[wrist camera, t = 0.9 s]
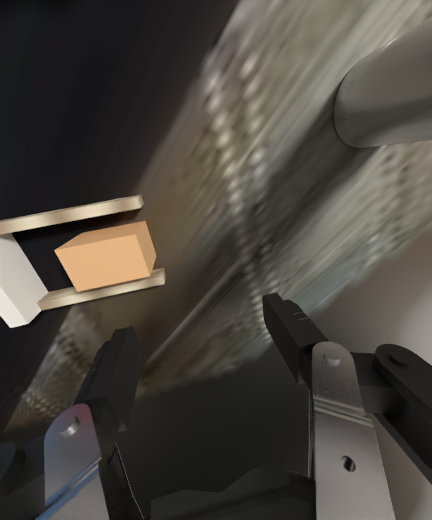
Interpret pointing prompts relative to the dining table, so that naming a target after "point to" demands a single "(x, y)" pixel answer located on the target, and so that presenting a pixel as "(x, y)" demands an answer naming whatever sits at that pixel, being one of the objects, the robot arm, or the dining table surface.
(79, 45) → the dining table surface
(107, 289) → the guide lane
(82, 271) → the block
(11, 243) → the stop block
